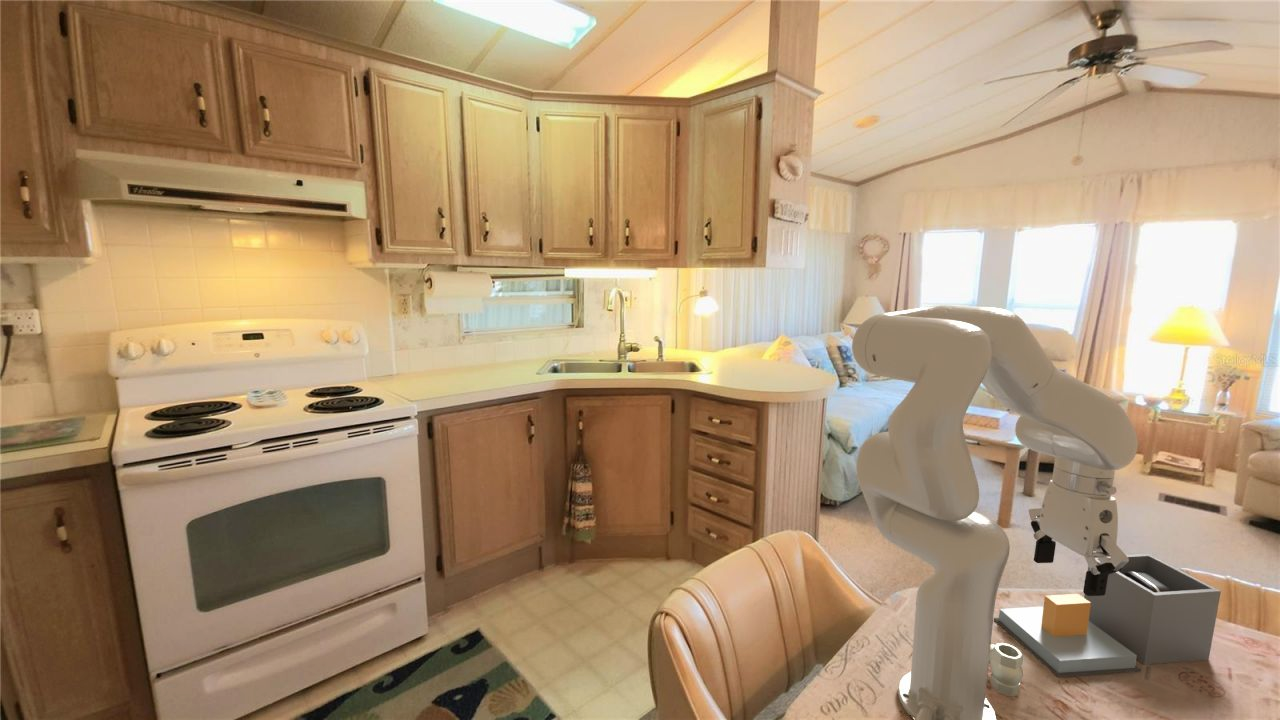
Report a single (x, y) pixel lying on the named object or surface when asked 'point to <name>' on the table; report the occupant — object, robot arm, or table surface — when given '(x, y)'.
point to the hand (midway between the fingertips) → (1067, 577)
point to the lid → (1067, 635)
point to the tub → (1157, 612)
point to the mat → (1066, 674)
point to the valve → (1005, 668)
